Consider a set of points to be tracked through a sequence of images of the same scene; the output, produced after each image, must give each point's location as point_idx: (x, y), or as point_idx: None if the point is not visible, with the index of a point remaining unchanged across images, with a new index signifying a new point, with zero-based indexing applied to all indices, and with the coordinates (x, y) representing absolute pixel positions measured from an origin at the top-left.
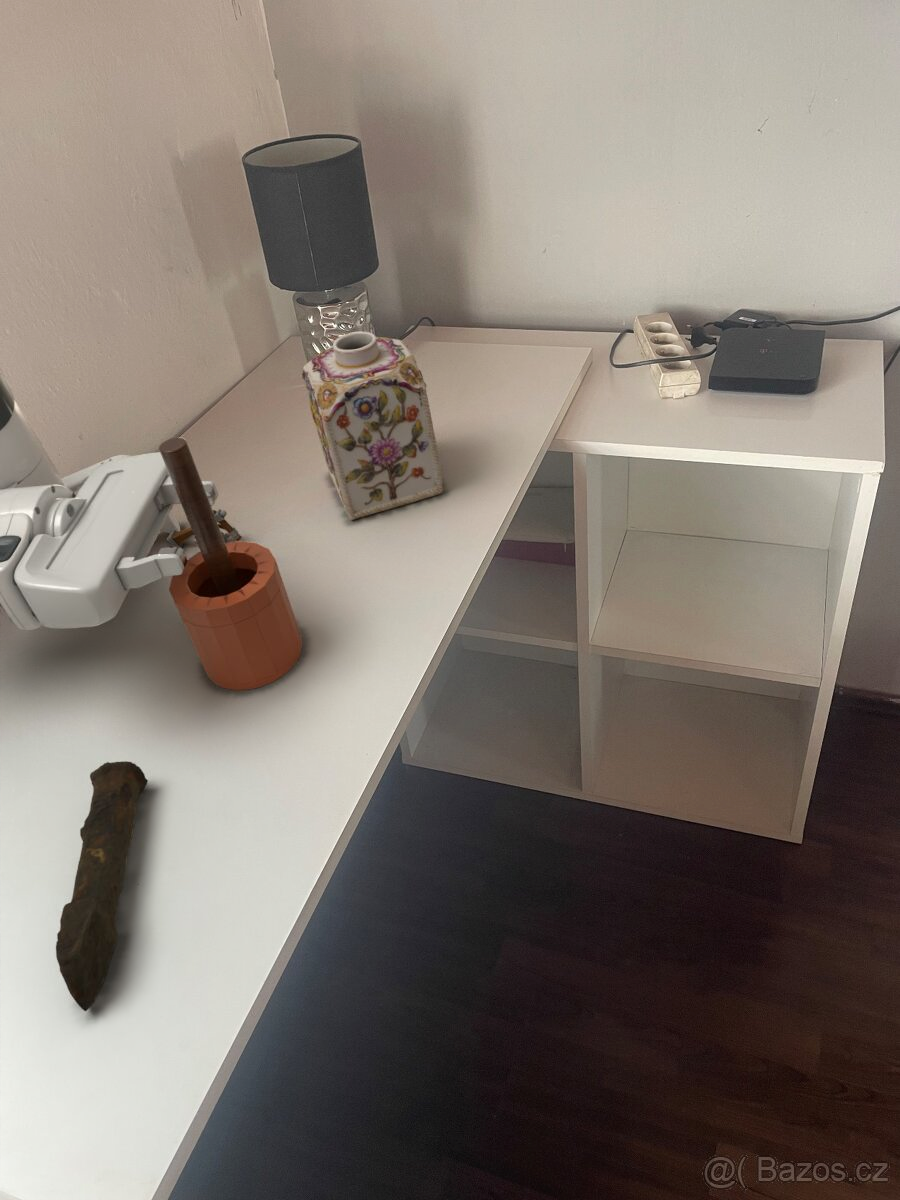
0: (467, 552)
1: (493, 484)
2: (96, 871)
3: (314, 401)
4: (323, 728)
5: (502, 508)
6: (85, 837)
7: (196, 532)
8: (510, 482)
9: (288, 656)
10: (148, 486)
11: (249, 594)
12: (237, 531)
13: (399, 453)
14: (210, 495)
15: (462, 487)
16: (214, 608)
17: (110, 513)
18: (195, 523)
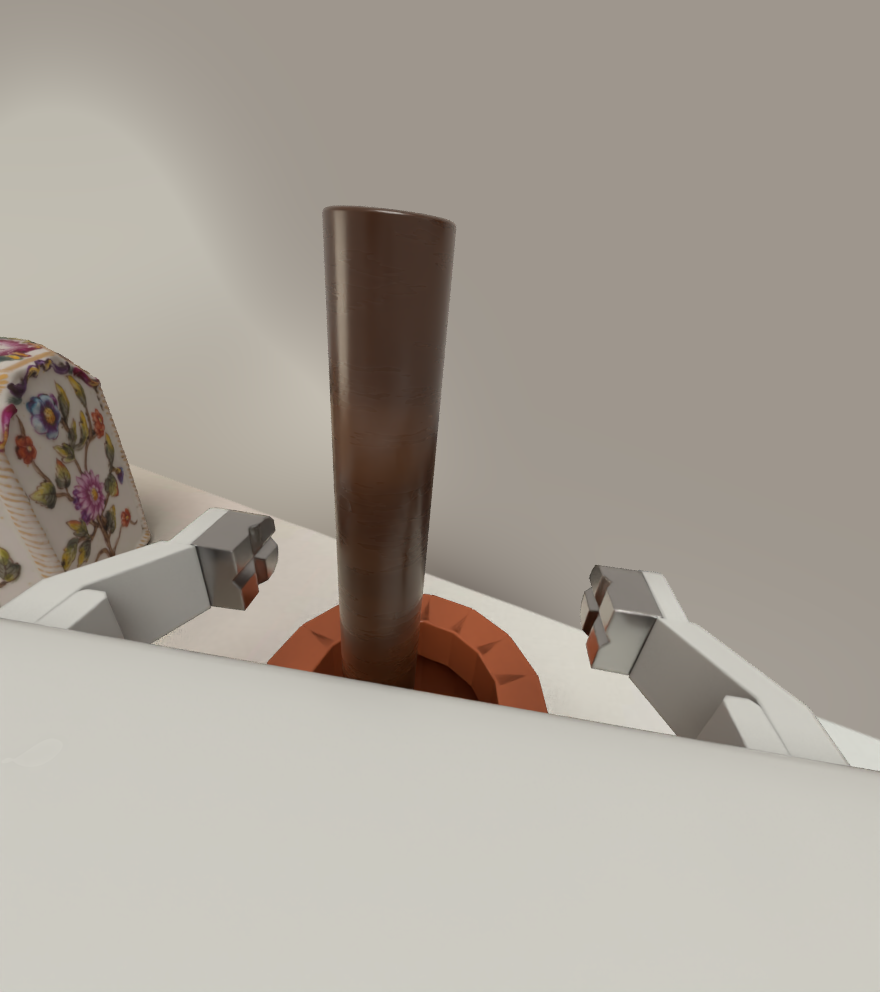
0: (295, 537)
1: (183, 504)
2: None
3: None
4: (579, 699)
5: (237, 505)
6: None
7: (417, 597)
8: (195, 494)
9: None
10: (77, 652)
11: (496, 633)
12: None
13: (103, 494)
14: (272, 530)
15: (157, 524)
16: (543, 704)
17: (276, 954)
18: (424, 561)
